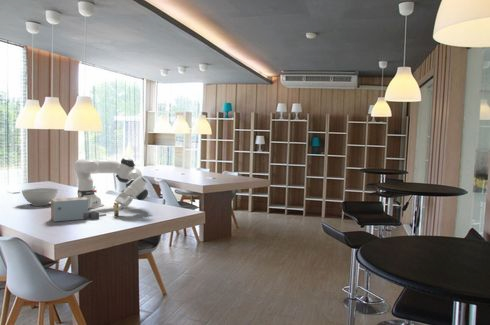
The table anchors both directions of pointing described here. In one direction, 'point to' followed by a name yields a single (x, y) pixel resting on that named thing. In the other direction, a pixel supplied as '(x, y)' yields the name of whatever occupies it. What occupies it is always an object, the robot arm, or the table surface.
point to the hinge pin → (116, 208)
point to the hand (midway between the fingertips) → (115, 208)
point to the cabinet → (61, 200)
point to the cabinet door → (70, 209)
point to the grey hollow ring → (91, 215)
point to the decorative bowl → (39, 195)
